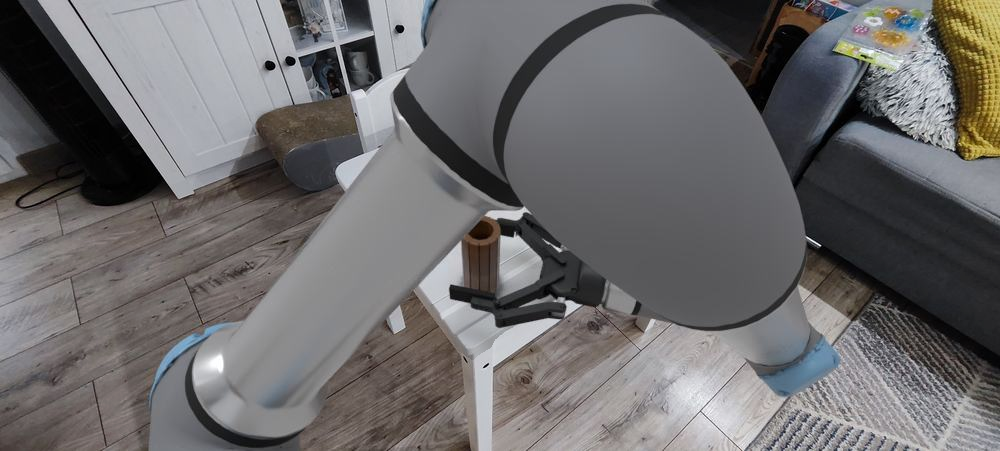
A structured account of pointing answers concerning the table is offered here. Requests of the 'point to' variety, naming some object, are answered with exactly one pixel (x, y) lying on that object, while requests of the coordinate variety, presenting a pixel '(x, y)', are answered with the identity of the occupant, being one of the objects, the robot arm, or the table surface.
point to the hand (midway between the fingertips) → (463, 255)
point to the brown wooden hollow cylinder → (482, 256)
